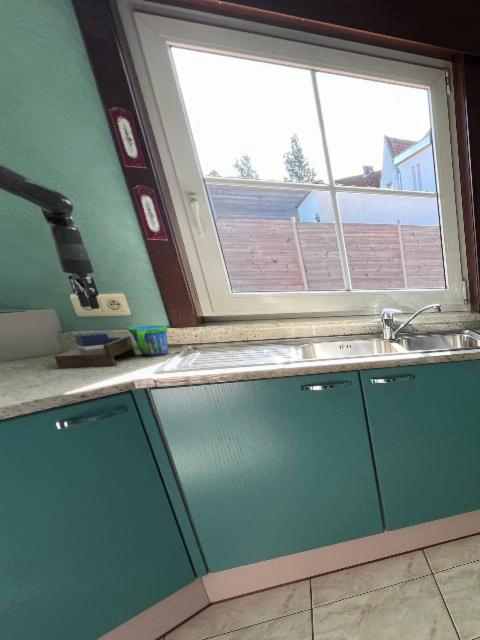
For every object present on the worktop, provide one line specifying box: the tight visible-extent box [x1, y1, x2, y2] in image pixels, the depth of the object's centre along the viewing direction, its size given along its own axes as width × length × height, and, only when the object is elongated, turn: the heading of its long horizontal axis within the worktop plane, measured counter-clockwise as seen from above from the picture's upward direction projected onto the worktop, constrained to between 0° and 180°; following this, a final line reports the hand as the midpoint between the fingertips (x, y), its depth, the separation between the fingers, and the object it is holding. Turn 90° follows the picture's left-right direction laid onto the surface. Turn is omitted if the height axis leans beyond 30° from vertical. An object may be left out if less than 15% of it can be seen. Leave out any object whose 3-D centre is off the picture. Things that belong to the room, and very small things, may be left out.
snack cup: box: [128, 324, 169, 357], centre depth 183 cm, size 16×10×10 cm
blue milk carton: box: [74, 332, 121, 350], centre depth 173 cm, size 11×5×5 cm, turn 155°
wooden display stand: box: [54, 335, 137, 369], centre depth 170 cm, size 14×20×7 cm
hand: (90, 307), depth 171 cm, fingers open, 8 cm apart
